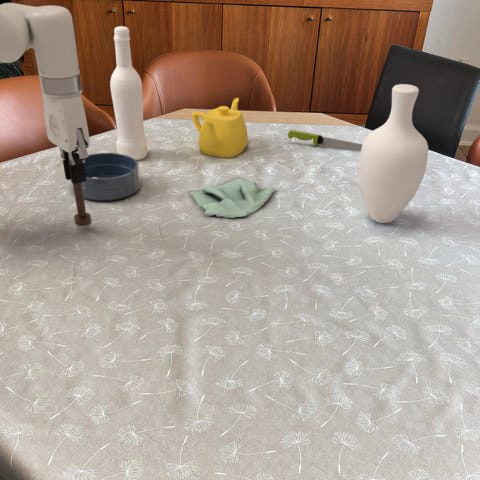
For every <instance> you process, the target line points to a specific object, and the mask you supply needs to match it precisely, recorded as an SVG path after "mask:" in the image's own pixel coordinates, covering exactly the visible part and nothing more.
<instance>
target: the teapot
mask: <svg viewBox="0 0 480 480" xmlns="http://www.w3.org/2000/svg"><path fill="white" fill-rule="evenodd" d="M239 101H240V99H239V97H235V98H234V99H233V100H232V103H231V108H229V107H228V106H226V105H221V106H220V105H219V106H218V107H216V108H212V109H211V110H209V111H208V112H207V113H205V112H202V111H193V112H192V113H191V119H192V122H193V125H194V126H195V128H196V130H197V131H198V132H199V135H198V146H199V149H200V151H201V153H202V154H204V155H207V156H212V157H218V158H227V159H229V158H230V159H231V158H234V157H236V156H237V157H238V155H240V154H241V153H243V152H244V150H245V149H246V146H247V144H248V139H249V137H248V129H247V124H246V121H245V117H244V116H243V114H242V112H241V110H239V108H238V105H239ZM200 118H203V120H202V123H201V122H200Z"/></svg>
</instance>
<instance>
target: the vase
mask: <svg viewBox="0 0 480 480" xmlns="http://www.w3.org/2000/svg"><path fill="white" fill-rule="evenodd" d="M419 91H420V89H419V88H418V86H415V85H413V84H409V83H408V84H407V83H398V84H395V85H394V86H392V88H391V110H390V113H389V116H388V119H387V120H386V121H385V123H384V124H382V125H381V126H379V127H377V128H375V129H373V130H372V131H370V132H369V133H368V134H367V135H366V136H365V138H364V139H363V141H362V144H363V145H362V148H361V149H360V153H359V158H358V163H357V164H358V166H357V172H358V173H357V174H358V185H359V191H360V194H361V197H362V199H363V202H364V204H365V208H366V210H367V212H368V215H369V216H370V218H371V219H372V220H373V221H375V222H376V223H380V224H388V223H392V222H393V221H395V220H396V219H397V218H398V217H399V216H400V214H401V213H402V212H403V211H404V210H405V208H406V207H407V206H408V205H409V204H410V202H411V201H412V200H413V198H414V197H415V195H416V194H417V192H418V190H419V189H420V186H421V184H422V181H423V179H424V177H425V174H426V171H427V170H426V169H427V166H428V165H427V164H428V158H429V145H428V141H427V140H426V138H425V137H424V136H423V135H422V134H421V133H420V132H419V131H418V130H417V129H416V127H415V126H414V123H413V111H414V106H415V103H416V101H417V99H418V95H419V93H420V92H419Z"/></svg>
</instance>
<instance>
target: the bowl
mask: <svg viewBox="0 0 480 480" xmlns="http://www.w3.org/2000/svg"><path fill="white" fill-rule="evenodd" d="M84 159H85V162H84V166H85V172H86V181H85V182H81V183H82V190H83V196H84V199H87V200H90V201H97V202H112V201H117V200H123V199H125V198H128V197H131V196H132V195H133V194H135V193H136V192H138V190H139V189H140V188H141V176H140V164H139V162H138V160H136V159H134V158H132V157H130V156H127V155H124V154H118V152H117V153H116V152H97V153H91V154H88V157H87V158H84ZM93 177H96V178H93ZM71 187H72V190H73V191H74V188H73V183H72V182H71Z"/></svg>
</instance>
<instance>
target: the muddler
mask: <svg viewBox="0 0 480 480" xmlns="http://www.w3.org/2000/svg"><path fill="white" fill-rule="evenodd" d="M75 153H78V152H74V154H75ZM68 158H69V153H68ZM69 164H70V159H69ZM73 188H74V190H73V193H74V200H75V206H76V212H77V213H76V214H74V216H73V220H74V224H75V225H76V226H78V227H86V226H87V227H88V226H90V225H91V224H92V222H93V221H92V214H91V213H89V212H87V210H86V203H85V198H84V196H83V190H82V183H77V184H73ZM73 188H72V189H73Z"/></svg>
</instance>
